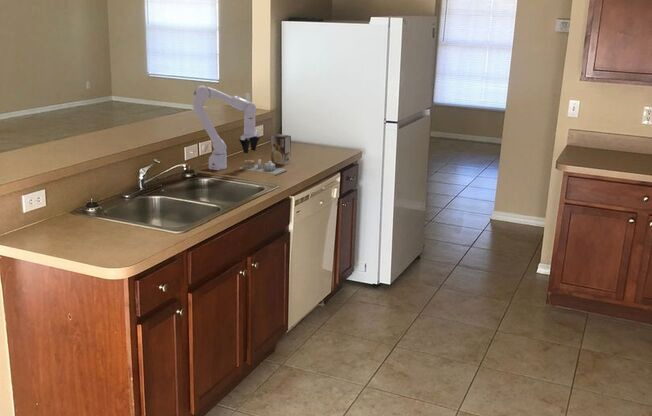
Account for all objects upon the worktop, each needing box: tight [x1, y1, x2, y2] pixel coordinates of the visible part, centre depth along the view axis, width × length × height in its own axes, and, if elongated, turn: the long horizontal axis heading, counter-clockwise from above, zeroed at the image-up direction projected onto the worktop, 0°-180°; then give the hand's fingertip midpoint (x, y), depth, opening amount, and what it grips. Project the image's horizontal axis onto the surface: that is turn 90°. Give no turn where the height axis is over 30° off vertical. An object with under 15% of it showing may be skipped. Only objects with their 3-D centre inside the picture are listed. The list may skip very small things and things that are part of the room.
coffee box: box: [270, 133, 292, 166], centre depth 363 cm, size 9×6×16 cm
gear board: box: [239, 159, 288, 177], centre depth 349 cm, size 12×22×6 cm, turn 66°
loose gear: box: [243, 159, 256, 168], centre depth 352 cm, size 6×6×3 cm
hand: (249, 151), depth 350 cm, fingers open, 7 cm apart
